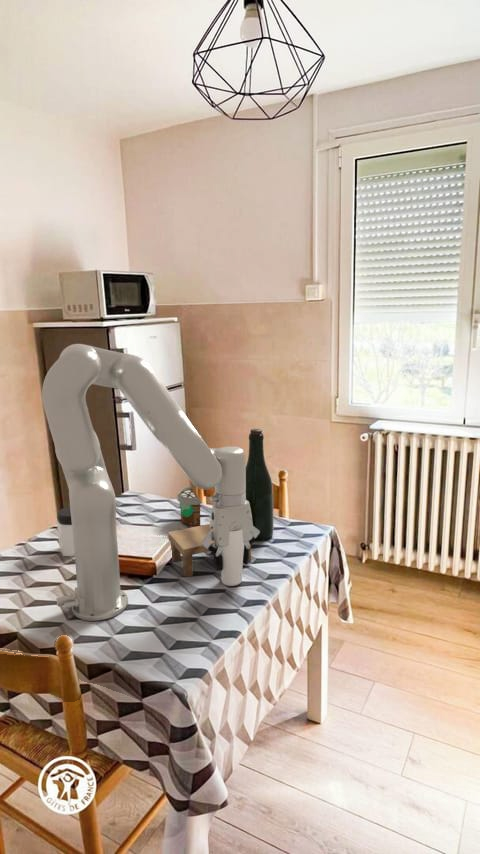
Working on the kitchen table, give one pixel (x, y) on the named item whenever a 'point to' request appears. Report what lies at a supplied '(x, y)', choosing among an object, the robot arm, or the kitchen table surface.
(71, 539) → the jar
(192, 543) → the footstool
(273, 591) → the kitchen table surface
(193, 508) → the food container
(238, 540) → the drinking glass
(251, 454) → the dark green wine bottle
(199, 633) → the kitchen table surface
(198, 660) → the kitchen table surface
